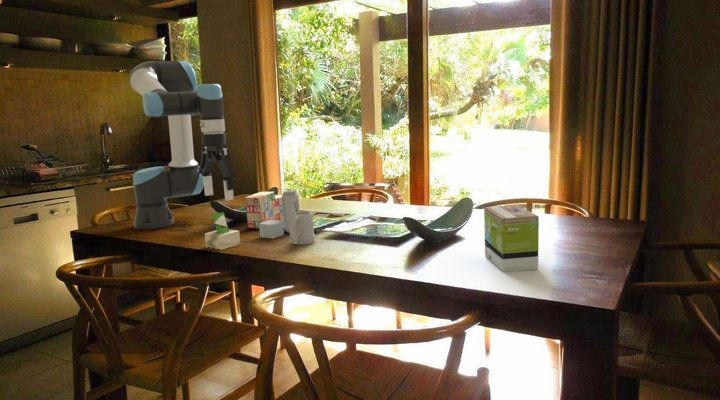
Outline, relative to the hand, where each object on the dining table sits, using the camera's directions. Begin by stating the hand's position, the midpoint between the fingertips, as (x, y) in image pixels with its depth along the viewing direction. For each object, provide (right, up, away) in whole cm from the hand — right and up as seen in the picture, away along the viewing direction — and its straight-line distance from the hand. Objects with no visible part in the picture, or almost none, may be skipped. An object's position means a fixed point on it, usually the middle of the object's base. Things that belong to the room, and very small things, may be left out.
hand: (219, 197), depth 171 cm
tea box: (+88, -18, -29) cm, 94 cm away
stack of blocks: (+10, -10, +37) cm, 39 cm away
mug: (+27, -15, +1) cm, 31 cm away
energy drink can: (+22, -12, +19) cm, 32 cm away
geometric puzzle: (0, -12, +2) cm, 12 cm away
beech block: (+1, -16, +3) cm, 17 cm away
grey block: (+15, -14, +13) cm, 24 cm away
